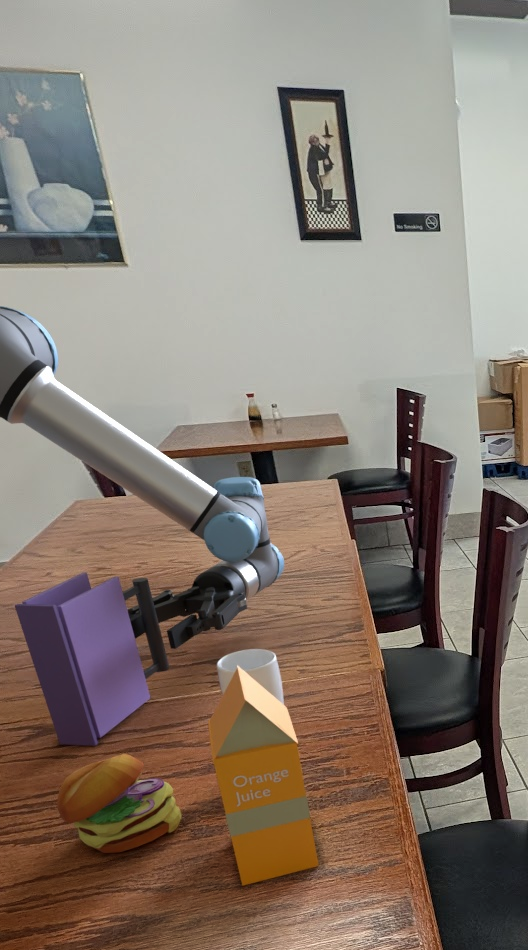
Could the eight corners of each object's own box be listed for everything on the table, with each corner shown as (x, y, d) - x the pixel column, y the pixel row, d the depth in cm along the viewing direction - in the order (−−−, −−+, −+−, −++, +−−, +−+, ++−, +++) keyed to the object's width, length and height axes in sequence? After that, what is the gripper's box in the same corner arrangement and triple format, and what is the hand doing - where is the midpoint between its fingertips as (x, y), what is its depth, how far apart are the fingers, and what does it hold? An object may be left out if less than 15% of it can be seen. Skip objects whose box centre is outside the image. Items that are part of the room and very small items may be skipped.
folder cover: (91, 737, 109) (51, 606, 101) (163, 681, 125) (133, 563, 117) (105, 738, 109) (66, 606, 101) (176, 681, 125) (147, 564, 117)
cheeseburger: (169, 855, 86) (121, 778, 82) (74, 880, 87) (21, 806, 82) (198, 800, 95) (157, 729, 91) (112, 824, 96) (67, 754, 91)
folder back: (59, 744, 109) (14, 605, 100) (119, 700, 120) (82, 572, 112) (95, 746, 108) (52, 606, 99) (151, 701, 120) (117, 572, 111)
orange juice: (240, 886, 82) (199, 707, 73) (234, 838, 89) (195, 671, 80) (320, 865, 84) (289, 691, 76) (307, 821, 92) (278, 657, 83)
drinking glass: (300, 753, 105) (280, 646, 99) (293, 781, 99) (272, 668, 93) (245, 759, 104) (221, 650, 98) (235, 787, 98) (209, 673, 92)
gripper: (286, 610, 136) (217, 666, 115) (173, 606, 138) (85, 660, 118) (279, 566, 133) (206, 616, 112) (163, 563, 135) (71, 610, 115)
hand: (144, 638), depth 115 cm, fingers open, 7 cm apart
